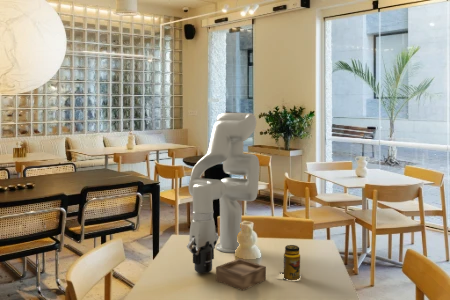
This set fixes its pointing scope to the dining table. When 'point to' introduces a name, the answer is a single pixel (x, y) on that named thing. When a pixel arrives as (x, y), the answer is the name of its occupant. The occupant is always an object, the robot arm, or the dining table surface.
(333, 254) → the dining table surface
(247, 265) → the walnut tray
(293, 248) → the condiment
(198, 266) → the supplement bottle
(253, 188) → the robot arm
